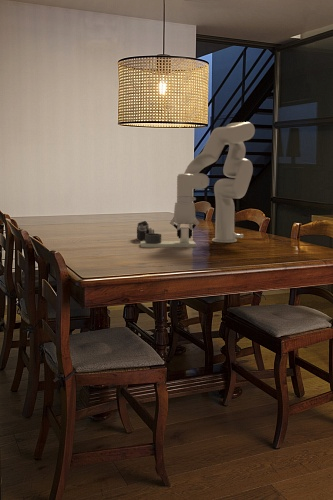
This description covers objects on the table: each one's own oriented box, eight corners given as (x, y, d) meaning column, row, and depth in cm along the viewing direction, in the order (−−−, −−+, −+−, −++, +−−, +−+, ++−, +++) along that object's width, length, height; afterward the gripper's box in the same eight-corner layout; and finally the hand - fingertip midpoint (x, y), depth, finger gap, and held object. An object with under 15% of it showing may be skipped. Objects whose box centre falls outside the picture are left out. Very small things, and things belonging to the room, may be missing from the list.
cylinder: (188, 241, 276) (188, 227, 275) (189, 243, 272) (189, 228, 271) (179, 241, 276) (179, 227, 275) (180, 243, 271) (180, 228, 270)
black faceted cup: (160, 241, 277) (160, 233, 276) (161, 243, 269) (161, 235, 269) (145, 241, 276) (145, 233, 276) (145, 243, 269) (145, 235, 268)
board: (193, 244, 279) (193, 241, 279) (196, 247, 269) (196, 243, 269) (140, 244, 277) (140, 241, 277) (141, 247, 268) (141, 244, 267)
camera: (156, 242, 286) (156, 222, 284) (139, 242, 285) (139, 222, 283) (151, 238, 301) (152, 219, 300) (136, 238, 300) (136, 219, 298)
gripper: (201, 199, 275) (200, 237, 278) (166, 199, 274) (166, 237, 276) (203, 200, 268) (203, 239, 270) (167, 200, 266) (167, 239, 269)
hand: (184, 237), depth 273 cm, fingers closed on cylinder, 4 cm apart
